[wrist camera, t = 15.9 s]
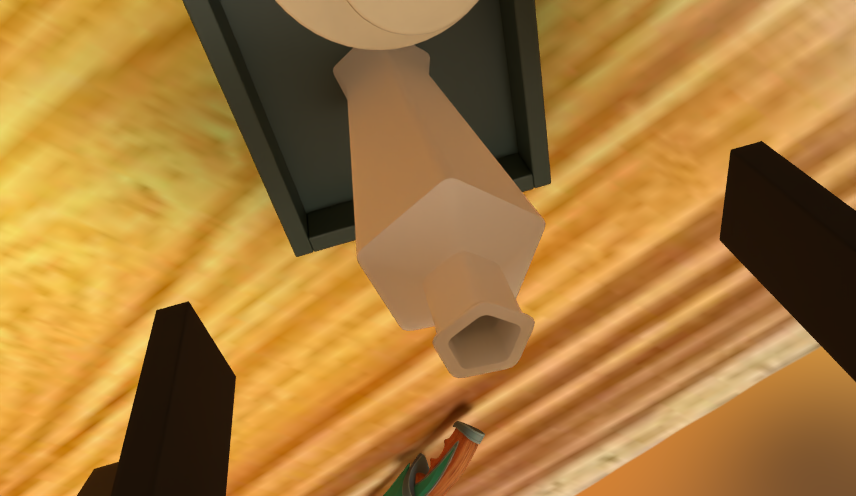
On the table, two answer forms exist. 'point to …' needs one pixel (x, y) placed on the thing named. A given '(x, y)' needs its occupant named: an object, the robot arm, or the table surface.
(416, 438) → the table surface
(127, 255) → the table surface
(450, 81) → the tray
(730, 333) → the table surface
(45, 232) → the table surface
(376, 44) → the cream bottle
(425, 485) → the knife
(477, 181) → the perfume bottle
